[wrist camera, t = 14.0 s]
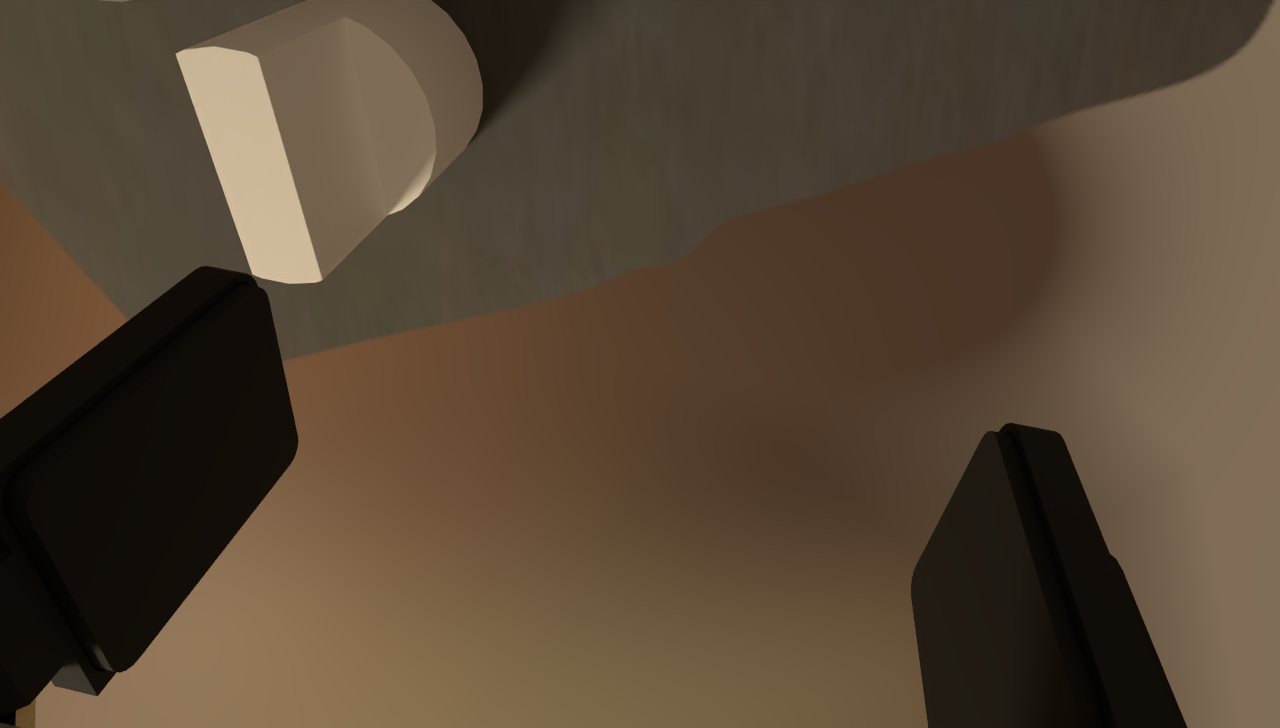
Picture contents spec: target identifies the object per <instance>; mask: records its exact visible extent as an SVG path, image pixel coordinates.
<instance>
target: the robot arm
mask: <svg viewBox="0 0 1280 728" xmlns="http://www.w3.org/2000/svg"><path fill="white" fill-rule="evenodd" d="M105 1H119V2H123V1H129V0H105ZM297 447H298V435H297V431H296V425H295V420H294V416H293V412H292V407H291V402H290V397H289V392H288V388H287V383H286V378H285V374H284V369H283V364H282V359H281V355H280V350H279V345H278V341H277V336H276V331H275V327H274V322H273V317H272V312H271V308H270V303H269V299H268V296H267V293H266V292H265V290H264V289H262V288H260V287H258V285H257V283H256V281H255V280H254V278H253V277H252V276H250V275H248V274H246V273H241V272H236V271H230V270H225V269H220V268H215V267H210V266H202V267H200V268H198V269H196V270H194V271H193V272H192V273H190V274H189V275H188V276H186V277H185V278H184V279H182V280H181V281H180V282H178V283H177V284H176V285H175V286H173V287H172V288H171V289H169V290H168V291H167V292H165V293H164V294H163V295H162V296H160V297H159V298H158V299H156V300H155V301H154V302H152V303H151V304H150V305H148V306H147V307H146V308H145V309H143V310H142V311H141V312H139V313H138V314H137V315H135V316H134V317H133V318H131V319H130V320H129V321H128V322H126V323H125V324H124V325H122V326H121V327H120V328H118V329H117V330H116V331H115V332H113V333H112V334H111V335H109V336H108V337H107V338H106V339H104V340H103V341H102V342H100V343H99V344H98V345H97V346H95V347H94V348H92V349H91V350H90V351H88V352H87V353H86V354H84V355H83V356H82V357H81V358H79V359H78V360H77V361H75V362H74V363H73V364H71V365H70V366H69V367H68V368H66V369H65V370H64V371H62V372H61V373H60V374H58V375H57V376H56V377H55V378H53V379H52V380H51V381H49V382H48V383H47V384H45V385H44V386H43V387H42V388H40V389H39V390H38V391H36V392H35V393H34V394H32V395H31V396H30V397H28V398H27V399H26V400H24V401H23V402H22V403H21V404H19V405H18V406H17V407H15V408H14V409H13V410H11V411H10V412H9V413H7V414H6V415H5V416H4V417H2V418H1V419H0V728H35V703H36V701H35V700H36V697H37V696H38V694H39V693H40V692H41V691H42V690H43V688H44V687H45V686H46V685H47V684H48V683H49V682H50V680H51V681H52V683H53V684H54V686H57V687H61V688H66V689H70V690H74V691H78V692H82V693H86V694H90V695H94V696H98V695H99V694H100V692H101V691H102V690H103V689H104V687H105V686H106V685H107V684H108V682H109V681H110V680H111V679H112V677H113V676H114V675H115V673H116V672H123V671H126V670H127V669H129V668H130V667H131V666H133V665H134V664H135V662H136V661H137V660H138V659H139V658H140V657H141V655H142V654H143V653H144V652H145V650H146V649H147V648H148V646H149V645H150V644H151V643H152V641H153V640H154V639H155V637H156V636H157V635H158V634H159V632H160V631H161V630H162V628H163V627H164V626H165V625H166V623H167V622H168V621H169V619H170V618H171V617H172V616H173V614H174V613H175V612H176V610H177V609H178V608H179V607H180V605H181V604H182V603H183V601H184V600H185V599H186V598H187V596H188V595H189V594H190V592H191V591H192V590H193V589H194V587H195V586H196V585H197V584H198V582H199V581H200V579H201V578H202V577H203V576H204V575H205V573H206V572H207V571H208V569H209V568H210V567H211V566H212V564H213V563H214V562H215V560H216V559H217V558H218V556H219V555H220V554H221V553H222V551H223V550H224V549H225V548H226V546H227V545H228V544H229V542H230V541H231V540H232V539H233V537H234V536H235V535H236V533H237V532H238V531H239V530H240V528H241V527H242V526H243V524H244V523H245V522H246V521H247V519H248V518H249V517H250V515H251V514H252V513H253V512H254V510H255V509H256V508H257V506H258V505H259V504H260V503H261V501H262V500H263V499H264V498H265V496H266V495H267V494H268V492H269V491H270V490H271V489H272V487H273V486H274V485H275V483H276V482H277V481H278V480H279V478H280V477H281V476H282V474H283V473H284V472H285V471H286V469H287V468H288V467H289V465H290V464H291V462H292V461H293V459H294V457H295V454H296V451H297ZM911 598H912V606H913V613H914V621H915V628H916V637H917V644H918V651H919V659H920V667H921V675H922V682H923V689H924V698H925V705H926V713H927V720H928V728H1187V726H1186V723H1185V721H1184V719H1183V716H1182V714H1181V711H1180V709H1179V707H1178V704H1177V702H1176V699H1175V697H1174V694H1173V692H1172V689H1171V687H1170V685H1169V682H1168V680H1167V677H1166V675H1165V672H1164V670H1163V667H1162V665H1161V662H1160V660H1159V658H1158V655H1157V653H1156V650H1155V648H1154V645H1153V643H1152V641H1151V638H1150V636H1149V633H1148V631H1147V628H1146V626H1145V624H1144V621H1143V619H1142V616H1141V614H1140V611H1139V609H1138V607H1137V604H1136V602H1135V599H1134V597H1133V594H1132V592H1131V589H1130V587H1129V585H1128V582H1127V580H1126V577H1125V575H1124V572H1123V570H1122V568H1121V567H1120V565H1119V563H1118V561H1117V560H1116V558H1114V557H1113V556H1112V555H1111V554H1110V553H1109V551H1108V548H1107V546H1106V544H1105V541H1104V538H1103V536H1102V533H1101V531H1100V529H1099V526H1098V523H1097V521H1096V518H1095V516H1094V513H1093V511H1092V509H1091V506H1090V504H1089V501H1088V499H1087V496H1086V494H1085V491H1084V489H1083V486H1082V484H1081V481H1080V479H1079V476H1078V474H1077V471H1076V469H1075V466H1074V464H1073V461H1072V459H1071V456H1070V454H1069V451H1068V449H1067V446H1066V444H1065V441H1064V439H1063V438H1062V436H1061V435H1060V434H1059V433H1057V432H1055V431H1050V430H1045V429H1039V428H1034V427H1030V426H1024V425H1019V424H1014V423H1007V424H1005V425H1004V426H1003V427H1002V428H1001V430H1000V431H999V432H994V431H988V432H987V433H986V434H985V435H984V436H983V438H982V439H981V441H980V443H979V445H978V447H977V449H976V451H975V453H974V455H973V457H972V458H971V461H970V462H969V464H968V466H967V468H966V470H965V472H964V474H963V476H962V478H961V480H960V482H959V484H958V486H957V487H956V489H955V492H954V493H953V495H952V497H951V499H950V501H949V503H948V505H947V507H946V509H945V511H944V513H943V515H942V516H941V518H940V520H939V523H938V525H937V526H936V528H935V530H934V532H933V534H932V536H931V538H930V540H929V542H928V544H927V546H926V548H925V550H924V552H923V553H922V555H921V557H920V559H919V561H918V563H917V565H916V567H915V570H914V573H913V577H912V583H911Z"/></svg>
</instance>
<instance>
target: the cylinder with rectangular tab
mask: <svg viewBox="0 0 1280 728" xmlns="http://www.w3.org/2000/svg"><path fill="white" fill-rule="evenodd" d="M176 56H177V59H178V62H179V65H180V68H181V70H182V73H183V76H184V79H185V82H186V85H187V88H188V90H189V93H190V96H191V99H192V102H193V105H194V108H195V111H196V113H197V116H198V119H199V122H200V125H201V128H202V131H203V133H204V136H205V139H206V142H207V145H208V148H209V151H210V153H211V156H212V159H213V162H214V165H215V168H216V171H217V174H218V176H219V179H220V182H221V185H222V188H223V191H224V194H225V196H226V199H227V202H228V205H229V208H230V211H231V214H232V216H233V219H234V222H235V225H236V228H237V231H238V234H239V237H240V239H241V242H242V245H243V248H244V251H245V254H246V257H247V259H248V262H249V265H250V268H251V271H252V274H253V275H256V276H258V277H260V278H264V279H269V280H274V281H279V282H284V283H289V284H292V283H315V282H318V281H321V280H323V279H324V278H325V277H326V276H327V275H328V274H329V273H330V272H331V271H332V270H333V269H334V268H335V267H336V266H337V265H338V264H339V263H340V262H341V261H342V260H343V259H344V258H345V257H346V256H347V255H348V254H349V253H350V252H351V251H352V250H353V249H354V248H355V247H356V246H357V245H358V244H359V243H360V242H361V241H362V240H363V239H364V238H365V237H366V236H367V235H368V234H369V233H370V232H371V231H372V230H373V229H374V228H375V227H376V226H377V225H378V224H379V223H380V222H381V221H382V220H383V219H384V218H385V217H386V216H387V215H389V214H391V213H394V212H397V211H400V210H402V209H403V208H405V207H406V206H407V205H408V204H410V203H411V202H412V201H413V200H414V199H416V198H417V197H418V196H419V195H420V194H421V193H422V192H423V191H424V190H425V189H426V188H427V187H428V186H429V185H430V184H431V183H432V182H433V181H434V180H435V179H436V178H437V177H438V176H439V175H440V174H441V173H442V172H443V171H444V170H445V169H446V168H447V167H448V166H449V164H450V163H451V162H452V161H453V160H454V159H455V158H456V157H457V156H458V155H459V154H460V153H461V152H462V151H463V150H464V149H465V148H466V147H467V145H468V144H469V142H470V140H471V139H472V137H473V136H474V134H475V132H476V131H477V128H478V125H479V121H480V117H481V113H482V110H483V84H482V80H481V76H480V72H479V67H478V63H477V59H476V57H475V55H474V53H473V51H472V49H471V47H470V45H469V43H468V41H467V39H466V37H465V35H464V34H463V32H462V31H461V30H460V29H459V28H458V26H457V25H456V24H455V23H454V21H453V20H452V19H451V18H450V16H449V15H448V14H447V13H446V12H445V11H444V10H443V9H441V8H440V7H439V6H438V5H436V4H435V3H434V2H433V1H431V0H306V1H304V2H301V3H299V4H296V5H294V6H291V7H289V8H286V9H284V10H281V11H279V12H276V13H274V14H271V15H269V16H266V17H264V18H261V19H259V20H256V21H254V22H251V23H249V24H246V25H244V26H242V27H239V28H237V29H234V30H232V31H229V32H227V33H224V34H222V35H219V36H217V37H214V38H212V39H209V40H207V41H204V42H202V43H199V44H197V45H194V46H192V47H189V48H187V49H184V50H182V51H180V52H178V53H177V54H176Z"/></svg>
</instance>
